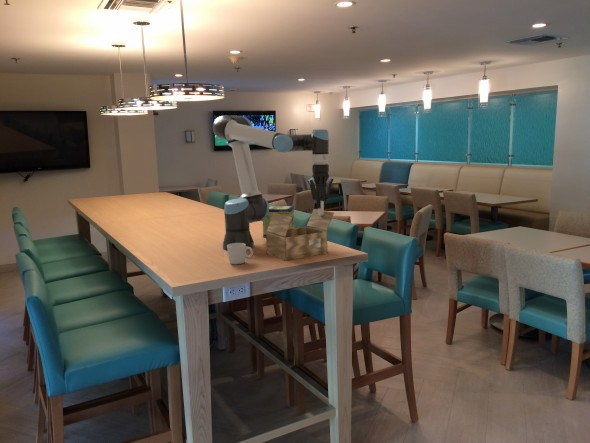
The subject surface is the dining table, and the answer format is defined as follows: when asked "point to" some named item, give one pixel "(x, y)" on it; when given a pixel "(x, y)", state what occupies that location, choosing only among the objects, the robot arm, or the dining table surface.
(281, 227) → the flap left
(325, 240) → the carton
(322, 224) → the flap right
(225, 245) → the robot arm
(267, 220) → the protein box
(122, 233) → the dining table surface
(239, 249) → the cup
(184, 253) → the dining table surface
